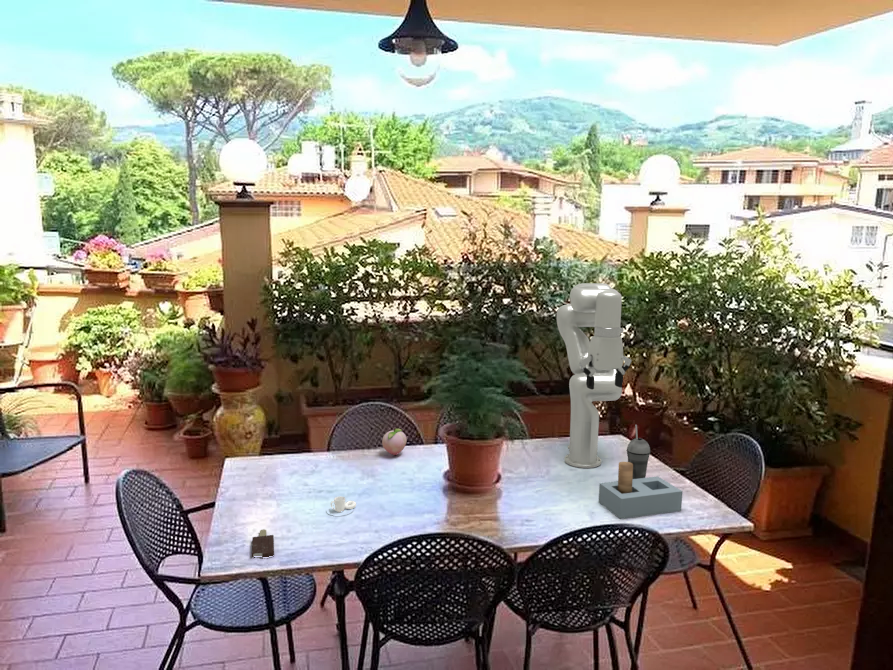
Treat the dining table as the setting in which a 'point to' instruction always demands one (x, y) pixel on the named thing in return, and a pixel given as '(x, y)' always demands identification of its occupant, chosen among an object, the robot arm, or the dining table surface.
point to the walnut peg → (625, 477)
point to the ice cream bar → (263, 545)
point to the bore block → (641, 498)
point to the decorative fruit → (394, 441)
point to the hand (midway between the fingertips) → (604, 387)
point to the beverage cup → (638, 456)
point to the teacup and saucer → (342, 504)
